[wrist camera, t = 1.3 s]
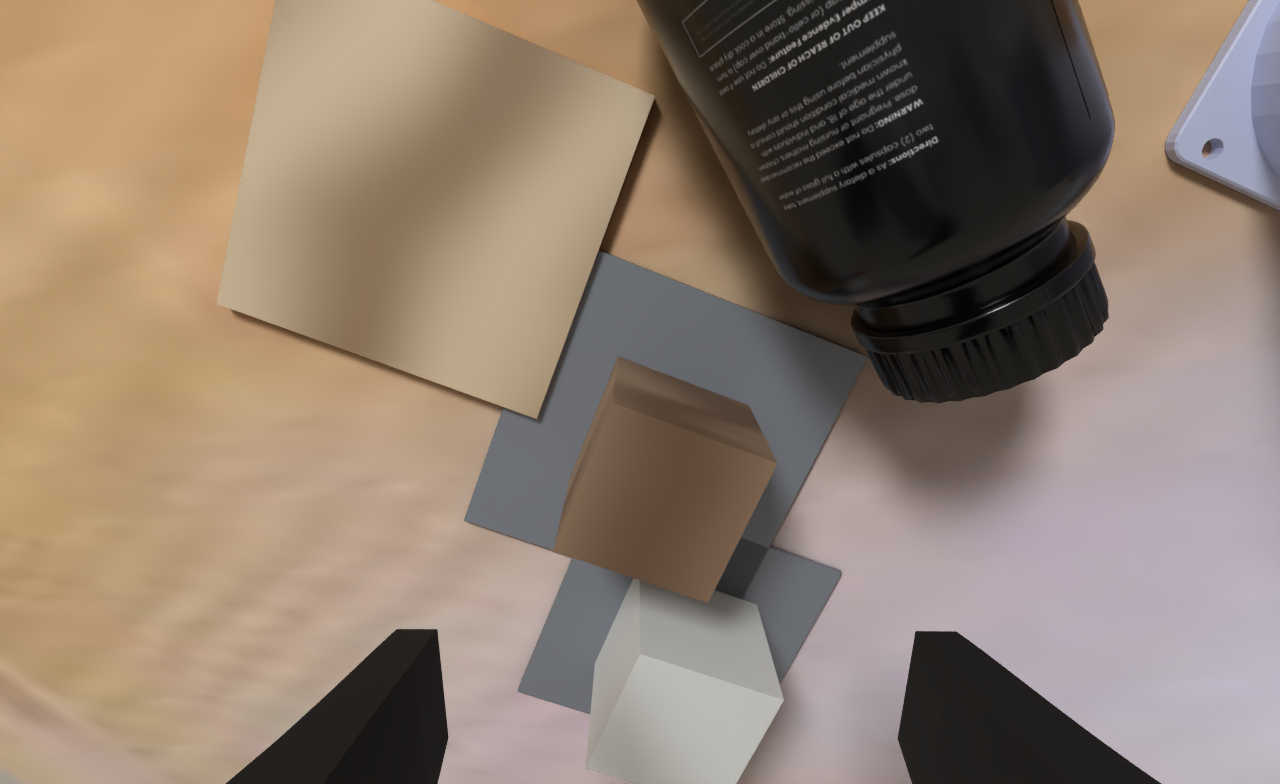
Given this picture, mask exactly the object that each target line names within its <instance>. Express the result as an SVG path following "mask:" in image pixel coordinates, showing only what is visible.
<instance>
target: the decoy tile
mask: <svg viewBox="0 0 1280 784" xmlns="http://www.w3.org/2000/svg"><path fill="white" fill-rule="evenodd" d="M741 539H742V538H741ZM743 541H744V542H745V539H744V540H742V541H741V542H739V543H741V545H743V544H746V545H747V546H748V545H750V543H749V544H747V543H743V544H742V542H743ZM748 542H749V540H748ZM750 542H751V541H750ZM752 543H753V544H754V542H752ZM752 543H751V544H752ZM739 545H740V544H739ZM739 545H738V546H739ZM746 545H744V546H746ZM754 545H755V544H754ZM752 546H753V545H752ZM752 546H750V547H751V549H752ZM757 546H758V547H759V544H758V545H756V547H755V546H754V547H755V548H756V550H753V551H754V552H755V551H756V553H757V550H758V549H757ZM760 546H762V545H760ZM763 547H765V546H763ZM740 548H745V547H740ZM740 548H737V547H736V549H740ZM748 548H749V546H748ZM748 548H747V550H746V549H745V550H746V551H747V552H746V551H744V550H741V549H740V550H741V551H744V552H743V553H746V554H747V553H748V554H749V552H750V551H749V552H748V550H749V549H750V548H749V549H748ZM755 548H753V549H755ZM760 548H761V549H762V547H760ZM760 548H759V549H760ZM736 549H735V550H736ZM764 549H765V548H764ZM764 549H763V550H764ZM766 549H767V547H766ZM766 549H765V550H766ZM740 550H739V551H740ZM741 551H740V553H739V552H737V553H736V554H737V556H738V555H739V554H741V553H742V552H741ZM753 551H751V552H753ZM758 551H759V550H758ZM761 551H762V550H761ZM751 552H750V553H751ZM766 552H767V553H766ZM766 552H765V551H764V553H765V557H764V558H763V561H762V559H760V558H762V557H760V558H759V559H760V560H761V563H759V561H755V559H752V558H753V557H754V558H755V556H756V557H757V556H758V554H756V555H755V556H753V555H752V556H753V557H752V558H750V555H751V554H752V553H751V554H749V556H748V557H749V558H750V559H752V561H751V562H750V561H749V558H748V559H747V558H745V559H746V560H748V561H749V562H750V563H752V562H753V560H754V561H755V562H758V563H759V564H760V567H759V568H757V569H758V570H757V569H756V568H755V569H753V570H756V571H757V572H755V571H753V570H752V571H753V572H755V573H756V574H755V575H753V576H754V578H753V580H752V579H751V578H749V576H746V575H747V574H746V573H747V571H746V569H747V567H745V568H746V569H745V568H744V570H743V571H746V573H745V574H746V575H745V574H744V575H745V577H746V578H747V577H748V578H747V579H750V580H751V581H752V582H751V581H750V583H751V584H750V583H748V584H749V585H750V586H749V585H748V586H749V588H748V589H747V588H745V586H747V583H746V581H747V579H746V581H744V582H745V583H744V582H743V581H742V582H743V583H744V585H745V584H746V585H745V586H744V585H743V584H742V582H740V583H741V584H742V585H743V586H744V587H743V586H742V585H740V586H741V587H740V588H743V590H742V589H741V590H740V592H741V591H745V589H746V591H747V592H741V593H740V595H741V594H743V593H746V594H744V595H743V597H741V598H739V597H738V598H739V599H742V598H743V599H742V600H745V601H748V602H751V603H754V604H757V606H758V610H759V614H760V617H761V621H762V624H763V628H764V631H765V635H766V638H767V642H768V645H769V649H770V653H771V656H772V660H773V663H774V667H775V670H776V674H777V677H778V681H779V684H780V682H781V681H782V679H783V677H784V675H785V674H786V672H787V670H788V668H789V666H790V665H791V663H792V661H793V659H794V658H795V656H796V654H797V652H798V651H799V649H800V647H801V645H802V643H803V642H804V640H805V638H806V636H807V635H808V633H809V631H810V629H811V627H812V626H813V624H814V622H815V620H816V619H817V617H818V615H819V613H820V611H821V610H822V608H823V606H824V604H825V603H826V601H827V599H828V597H829V595H830V594H831V592H832V590H833V588H834V587H835V585H836V583H837V581H838V580H839V578H840V576H841V574H842V572H841V570H838V569H835V568H832V567H829V566H827V565H824V564H821V563H818V562H815V561H812V560H810V559H807V558H804V557H801V556H798V555H795V554H792V553H790V552H787V551H784V550H781V549H778V548H775V547H773V546H770V547H769V549H768V551H766ZM734 553H735V551H734ZM738 553H739V554H738ZM759 553H762V552H759ZM764 553H763V554H764ZM753 554H754V553H753ZM742 555H743V554H742ZM742 555H739V556H741V557H742V558H743V556H742ZM744 555H745V554H744ZM732 556H734V557H735V554H734V555H733V554H732ZM732 556H731V559H732V558H733V557H732ZM737 556H736V557H737ZM760 556H761V555H760ZM762 556H763V555H762ZM736 557H735V558H736ZM735 558H734V560H736V562H739V560H737V558H736V559H735ZM742 558H740V559H741V560H742ZM759 559H758V560H759ZM734 560H733V561H734ZM741 560H740V562H741V563H740V562H739V563H740V564H745V563H742V561H741ZM746 560H744V561H746ZM756 560H757V558H756ZM730 561H731V560H730ZM728 563H731V562H728ZM732 563H733V562H732ZM732 563H731V566H733V565H735V564H733V565H732ZM734 563H735V562H734ZM750 563H749V564H750ZM753 563H754V562H753ZM758 563H755V565H756V566H752V567H753V568H754V567H758V566H759V564H758ZM740 564H738V565H740ZM749 564H748V567H749V566H751V565H753V564H751V565H749ZM757 564H758V566H757ZM736 565H737V564H736ZM736 565H735V566H736ZM738 565H737V566H738ZM745 565H746V564H745ZM745 565H744V566H745ZM735 566H734V567H733V568H734V569H735ZM741 566H742V567H743V565H741ZM746 566H747V565H746ZM738 567H739V566H738ZM738 567H736V568H738ZM726 568H728V569H729V570H728V572H729V571H730V570H731V568H732V567H731V568H729V567H728V565H727V566H726ZM749 568H751V567H749ZM749 568H748V569H749ZM739 569H740V571H741V569H742V568H739ZM748 569H747V570H748ZM725 570H726V569H725ZM725 570H724V571H725ZM732 570H733V569H732ZM732 570H731V571H732ZM735 570H736V569H735ZM735 570H733V571H734V572H735ZM733 571H732V572H733ZM738 571H739V570H738ZM738 571H737V572H736V574H737V573H738ZM734 572H733V573H730V574H729V573H728V574H729V575H728V574H727V572H726V574H723V575H725V577H726V575H728V576H727V579H724V581H725V580H729V581H728V582H729V583H728V582H727V583H728V585H726V587H727V588H729V590H731V589H732V588H733V587H732V588H731V586H732V585H731V586H729V585H730V582H731V581H730V579H733V577H731V578H730V579H728V577H730V575H731V574H733V575H734ZM748 572H749V573H750V574H751V575H752V574H754V573H751V572H750V570H748ZM723 573H725V572H723ZM739 573H740V574H741V572H739ZM739 573H738V574H737V576H738V575H739ZM742 574H743V573H742ZM742 574H741V575H742ZM750 574H748V575H750ZM723 575H722V576H723ZM733 575H732V576H733ZM735 576H736V575H735ZM739 576H740V575H739ZM742 576H743V575H742ZM742 576H741V577H739V578H741V579H740V580H745V579H742ZM725 577H724V578H725ZM743 577H744V576H743ZM745 577H744V578H745ZM722 578H723V577H721V580H722V581H723V579H722ZM736 578H737V579H736ZM735 579H736V581H737V580H739V579H738V577H735ZM632 580H633V578H632V577H629V576H626V575H623V574H620V573H617V572H614V571H611V570H608V569H605V568H602V567H599V566H596V565H593V564H590V563H587V562H584V561H581V560H578V559H575V558H572V560H571V562H570V564H569V567H568V569H567V572H566V574H565V577H564V579H563V581H562V584H561V586H560V589H559V591H558V593H557V596H556V598H555V601H554V603H553V606H552V608H551V610H550V613H549V615H548V618H547V620H546V623H545V625H544V627H543V630H542V632H541V635H540V637H539V639H538V642H537V644H536V647H535V649H534V652H533V654H532V656H531V659H530V661H529V664H528V666H527V668H526V671H525V673H524V676H523V678H522V681H521V683H520V685H519V688H518V692H520V693H523V694H527V695H530V696H533V697H536V698H540V699H543V700H546V701H550V702H553V703H556V704H559V705H563V706H566V707H569V708H572V709H576V710H579V711H582V712H585V713H589V714H590V713H591V701H592V690H593V679H594V667H595V662H596V660H597V658H598V655H599V653H600V651H601V649H602V647H603V644H604V642H605V640H606V638H607V636H608V633H609V631H610V629H611V627H612V624H613V622H614V620H615V618H616V616H617V613H618V611H619V609H620V607H621V605H622V602H623V600H624V598H625V596H626V593H627V591H628V589H629V587H630V585H631V582H632ZM740 580H739V581H740ZM734 581H735V580H734ZM748 581H749V580H748ZM748 581H747V582H748ZM725 582H726V581H725ZM732 582H733V580H732ZM732 582H731V583H732ZM721 583H723V582H721ZM721 583H720V584H721ZM736 583H737V582H736ZM738 583H739V582H738ZM720 584H719V585H720ZM732 584H733V586H735V585H739V584H734V582H733V583H732ZM722 585H724V588H725V583H724V584H721V586H722ZM728 586H729V587H728ZM717 587H719V586H718V585H717V586H716V589H717ZM735 587H737V586H735ZM719 588H720V587H719ZM719 588H718V589H719ZM740 588H736V590H738V589H740ZM744 588H745V589H744ZM720 589H723V588H720ZM724 590H725V589H724ZM732 590H734V588H733V589H732ZM736 590H735V591H736ZM722 591H723V590H721V592H722ZM725 591H726V590H725ZM727 591H728V590H727ZM718 592H720V591H718ZM731 592H734V591H731ZM737 592H739V590H738V591H737ZM722 593H723V592H722ZM724 593H727V592H724ZM728 593H730V592H728ZM731 594H732V593H731ZM731 594H727V595H731ZM736 594H739V593H736ZM736 594H735V595H736ZM733 595H734V593H733V594H732V596H733ZM741 596H742V595H741ZM733 597H734V596H733ZM735 597H737V596H735Z"/></svg>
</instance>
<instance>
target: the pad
mask: <svg viewBox="0 0 1280 784" xmlns="http://www.w3.org/2000/svg"><path fill="white" fill-rule="evenodd" d="M654 98H655V96H654V95H652V94H649V93H647V92H645V91H642V90H640V89H638V88H635V87H633V86H631V85H628V84H626V83H624V82H621V81H619V80H617V79H614V78H612V77H610V76H607V75H605V74H603V73H601V72H598V71H596V70H594V69H591V68H589V67H587V66H584V65H582V64H580V63H577V62H575V61H573V60H570V59H568V58H566V57H563V56H561V55H559V54H556V53H554V52H552V51H549V50H547V49H545V48H542V47H540V46H538V45H535V44H533V43H531V42H528V41H526V40H524V39H522V38H519V37H517V36H515V35H512V34H510V33H508V32H505V31H503V30H501V29H498V28H496V27H494V26H491V25H489V24H487V23H484V22H482V21H480V20H477V19H475V18H473V17H470V16H468V15H466V14H463V13H461V12H459V11H456V10H454V9H452V8H449V7H447V6H445V5H443V4H440V3H438V2H436V1H433V0H276V1H275V6H274V11H273V16H272V21H271V26H270V31H269V37H268V42H267V47H266V52H265V57H264V62H263V67H262V72H261V78H260V83H259V88H258V93H257V98H256V103H255V108H254V114H253V119H252V124H251V129H250V134H249V139H248V144H247V150H246V155H245V160H244V165H243V170H242V175H241V180H240V185H239V191H238V196H237V201H236V206H235V211H234V216H233V221H232V227H231V232H230V237H229V242H228V247H227V252H226V257H225V263H224V268H223V273H222V278H221V283H220V288H219V293H218V298H217V304H219V305H221V306H224V307H227V308H230V309H233V310H235V311H238V312H241V313H244V314H246V315H249V316H252V317H255V318H258V319H260V320H263V321H266V322H269V323H271V324H274V325H277V326H280V327H283V328H285V329H288V330H291V331H294V332H296V333H299V334H302V335H305V336H308V337H310V338H313V339H316V340H319V341H322V342H324V343H327V344H330V345H333V346H335V347H338V348H341V349H344V350H347V351H349V352H352V353H355V354H358V355H360V356H363V357H366V358H369V359H372V360H374V361H377V362H380V363H383V364H385V365H388V366H391V367H394V368H397V369H399V370H402V371H405V372H408V373H410V374H413V375H416V376H419V377H422V378H424V379H427V380H430V381H433V382H435V383H438V384H441V385H444V386H447V387H449V388H452V389H455V390H458V391H460V392H463V393H466V394H469V395H472V396H474V397H477V398H480V399H483V400H485V401H488V402H491V403H494V404H497V405H499V406H502V407H505V408H508V409H510V410H513V411H516V412H519V413H522V414H524V415H527V416H530V417H533V418H535V419H537V417H538V414H539V412H540V409H541V406H542V403H543V401H544V398H545V395H546V392H547V390H548V387H549V384H550V382H551V379H552V376H553V373H554V371H555V368H556V365H557V362H558V360H559V357H560V354H561V352H562V349H563V346H564V343H565V341H566V338H567V335H568V332H569V330H570V327H571V324H572V322H573V319H574V316H575V313H576V311H577V308H578V305H579V302H580V300H581V297H582V294H583V292H584V289H585V286H586V283H587V281H588V278H589V275H590V272H591V270H592V267H593V264H594V262H595V259H596V256H597V253H598V251H599V248H600V245H601V243H602V240H603V237H604V235H605V232H606V229H607V226H608V224H609V221H610V218H611V216H612V213H613V210H614V207H615V205H616V202H617V199H618V196H619V194H620V191H621V188H622V186H623V183H624V180H625V177H626V175H627V172H628V169H629V166H630V164H631V161H632V158H633V156H634V153H635V150H636V147H637V145H638V142H639V139H640V136H641V134H642V131H643V128H644V126H645V123H646V120H647V117H648V115H649V112H650V109H651V106H652V104H653V101H654Z"/></svg>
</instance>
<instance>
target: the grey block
mask: <svg viewBox="0 0 1280 784" xmlns="http://www.w3.org/2000/svg"><path fill="white" fill-rule="evenodd" d="M783 701H784V699H783V695H782V692H781V688H780V684H779V681H778V677H777V674H776V670H775V667H774V663H773V660H772V656H771V653H770V649H769V645H768V642H767V638H766V635H765V631H764V628H763V624H762V621H761V617H760V614H759V610H758V606H757V604H754V603H751V602H748V601H745V600H742V599H739V598H736V597H733V596H730V595H727V594H724V593H721V592H718V591H716V590H714V592H713V594H712V596H711V598H710V600H709V602H708V603H706V602H703V601H700V600H697V599H694V598H691V597H688V596H685V595H682V594H679V593H676V592H673V591H670V590H667V589H665V588H662V587H659V586H656V585H653V584H650V583H647V582H644V581H641V580H638V579H635V578H633V580H632V582H631V585H630V587H629V589H628V591H627V593H626V596H625V598H624V600H623V602H622V605H621V607H620V609H619V611H618V613H617V616H616V618H615V620H614V622H613V624H612V627H611V629H610V631H609V633H608V636H607V638H606V640H605V642H604V644H603V647H602V649H601V651H600V653H599V655H598V658H597V660H596V662H595V667H594V679H593V690H592V701H591V713H590V724H589V736H588V747H587V759H586V769H589V770H592V771H596V772H599V773H603V774H606V775H609V776H613V777H616V778H619V779H623V780H626V781H629V782H633V783H636V784H736V783H737V782H738V780H739V778H740V776H741V775H742V773H743V771H744V769H745V768H746V766H747V764H748V762H749V761H750V759H751V757H752V755H753V754H754V752H755V750H756V748H757V747H758V745H759V743H760V741H761V740H762V738H763V736H764V734H765V733H766V731H767V729H768V727H769V726H770V724H771V722H772V720H773V719H774V717H775V715H776V713H777V712H778V710H779V708H780V706H781V705H782V703H783Z"/></svg>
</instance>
